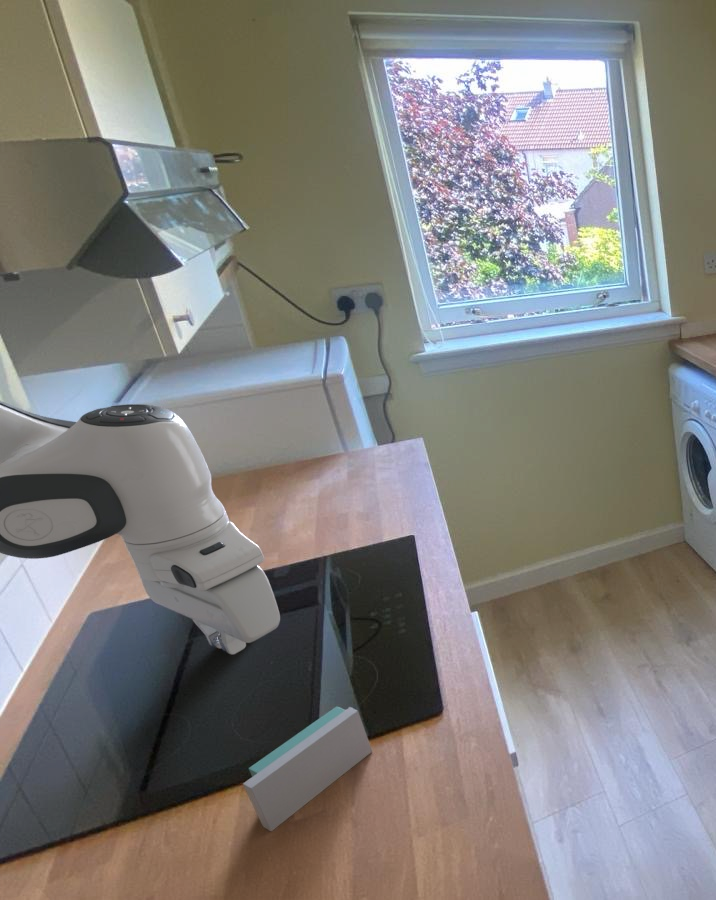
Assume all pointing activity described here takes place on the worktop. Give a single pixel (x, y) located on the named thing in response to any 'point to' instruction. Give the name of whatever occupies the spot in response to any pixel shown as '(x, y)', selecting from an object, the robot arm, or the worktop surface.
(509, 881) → the worktop surface
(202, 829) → the worktop surface
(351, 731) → the whetstone
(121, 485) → the robot arm
